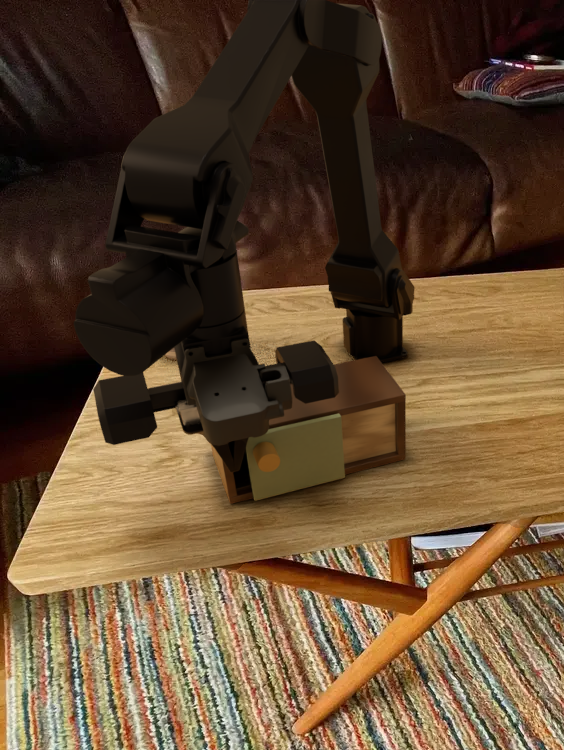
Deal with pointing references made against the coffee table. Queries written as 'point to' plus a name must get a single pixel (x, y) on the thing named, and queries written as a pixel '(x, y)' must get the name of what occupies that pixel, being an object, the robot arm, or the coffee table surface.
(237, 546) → the coffee table surface
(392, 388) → the sideboard
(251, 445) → the door
